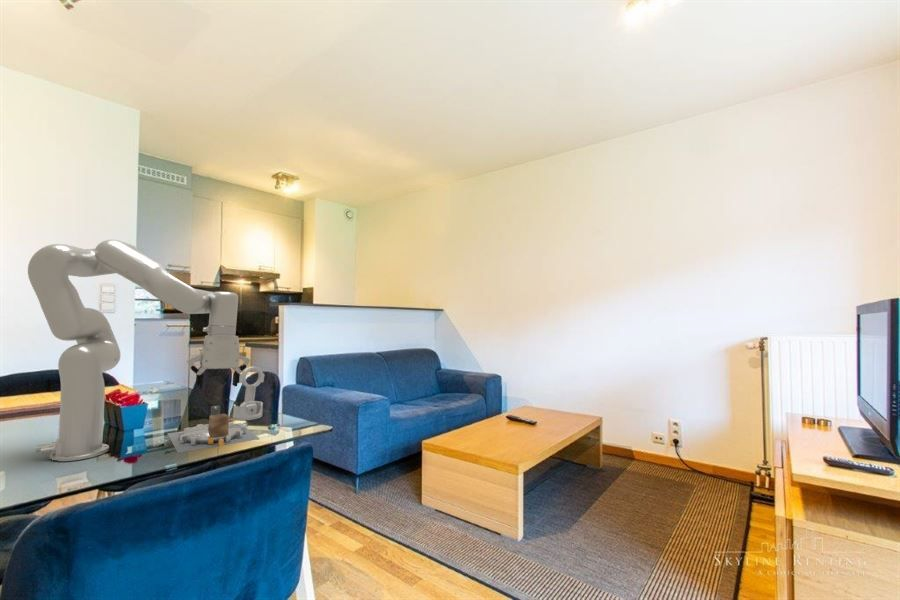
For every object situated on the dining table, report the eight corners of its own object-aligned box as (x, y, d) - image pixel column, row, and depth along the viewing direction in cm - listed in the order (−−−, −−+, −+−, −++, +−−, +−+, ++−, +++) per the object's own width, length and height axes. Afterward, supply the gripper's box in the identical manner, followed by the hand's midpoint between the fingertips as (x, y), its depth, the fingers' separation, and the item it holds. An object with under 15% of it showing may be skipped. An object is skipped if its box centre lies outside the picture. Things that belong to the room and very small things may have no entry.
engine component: (228, 421, 158) (241, 425, 152) (230, 366, 158) (243, 369, 152) (256, 415, 166) (269, 420, 160) (258, 364, 167) (271, 366, 161)
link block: (212, 437, 125) (212, 418, 126) (208, 434, 129) (209, 415, 129) (228, 434, 128) (228, 416, 128) (224, 431, 132) (225, 413, 132)
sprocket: (167, 436, 131) (168, 411, 131) (227, 424, 147) (228, 401, 147) (195, 449, 120) (197, 421, 121) (257, 434, 136) (258, 409, 136)
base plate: (177, 458, 118) (178, 447, 118) (166, 438, 135) (167, 428, 135) (259, 443, 132) (260, 433, 132) (240, 427, 150) (240, 418, 150)
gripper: (192, 331, 121) (187, 390, 120) (255, 332, 132) (251, 387, 131) (187, 330, 127) (182, 386, 126) (248, 331, 138) (244, 383, 137)
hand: (217, 386), depth 129 cm, fingers open, 9 cm apart
